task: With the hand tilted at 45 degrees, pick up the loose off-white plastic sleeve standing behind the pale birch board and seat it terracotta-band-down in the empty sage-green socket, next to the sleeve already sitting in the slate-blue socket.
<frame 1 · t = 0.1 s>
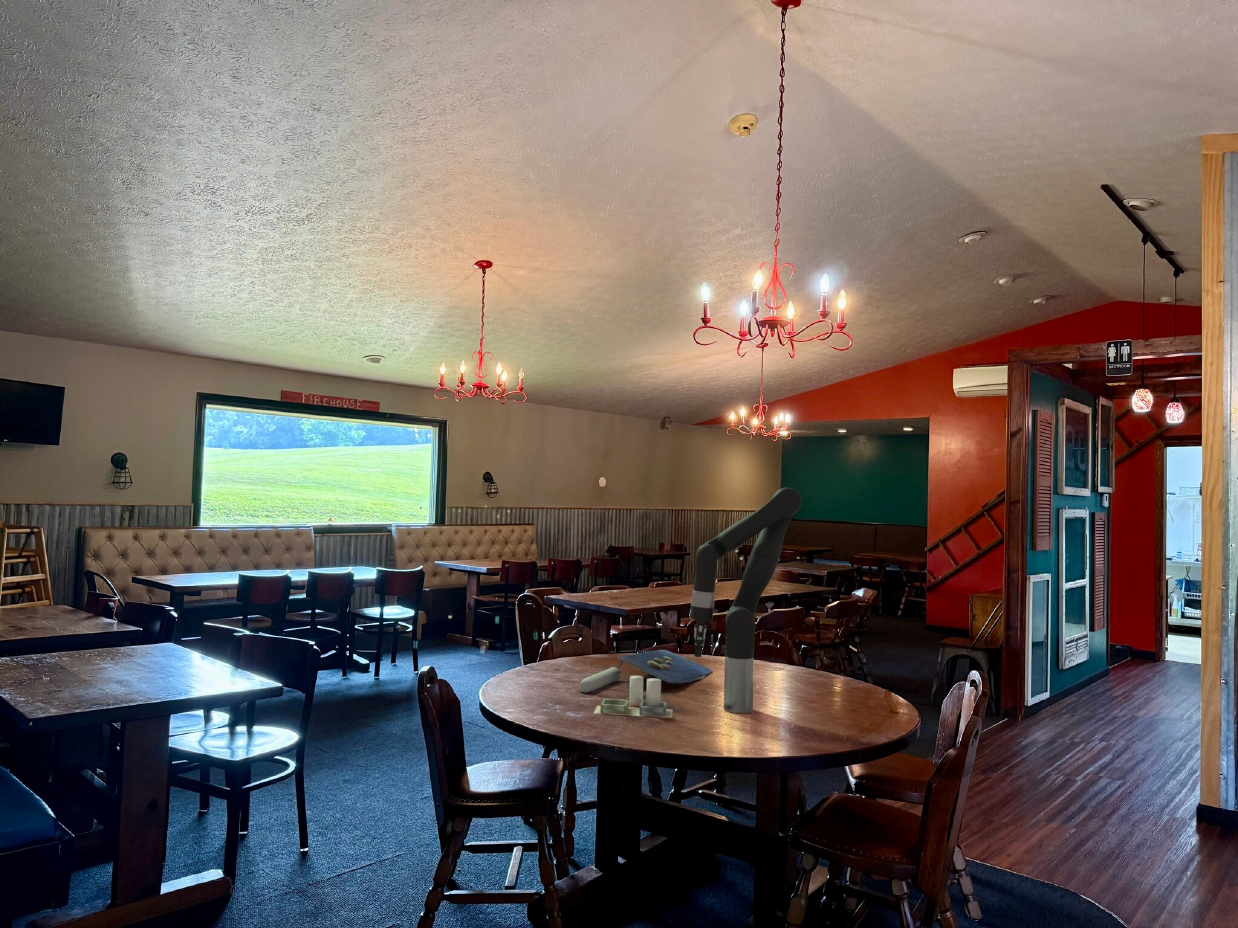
hand: (697, 654, 265), 17 cm above the table, tool pointing down, fingers open, 8 cm apart
seated sleeve: (653, 712, 251), point 1 cm above the table, touching board
board: (633, 716, 251), on the table
tube: (599, 687, 291), on the table, touching serving platter
serving platter: (662, 677, 311), on the table, touching tube
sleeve: (635, 708, 261), on the table
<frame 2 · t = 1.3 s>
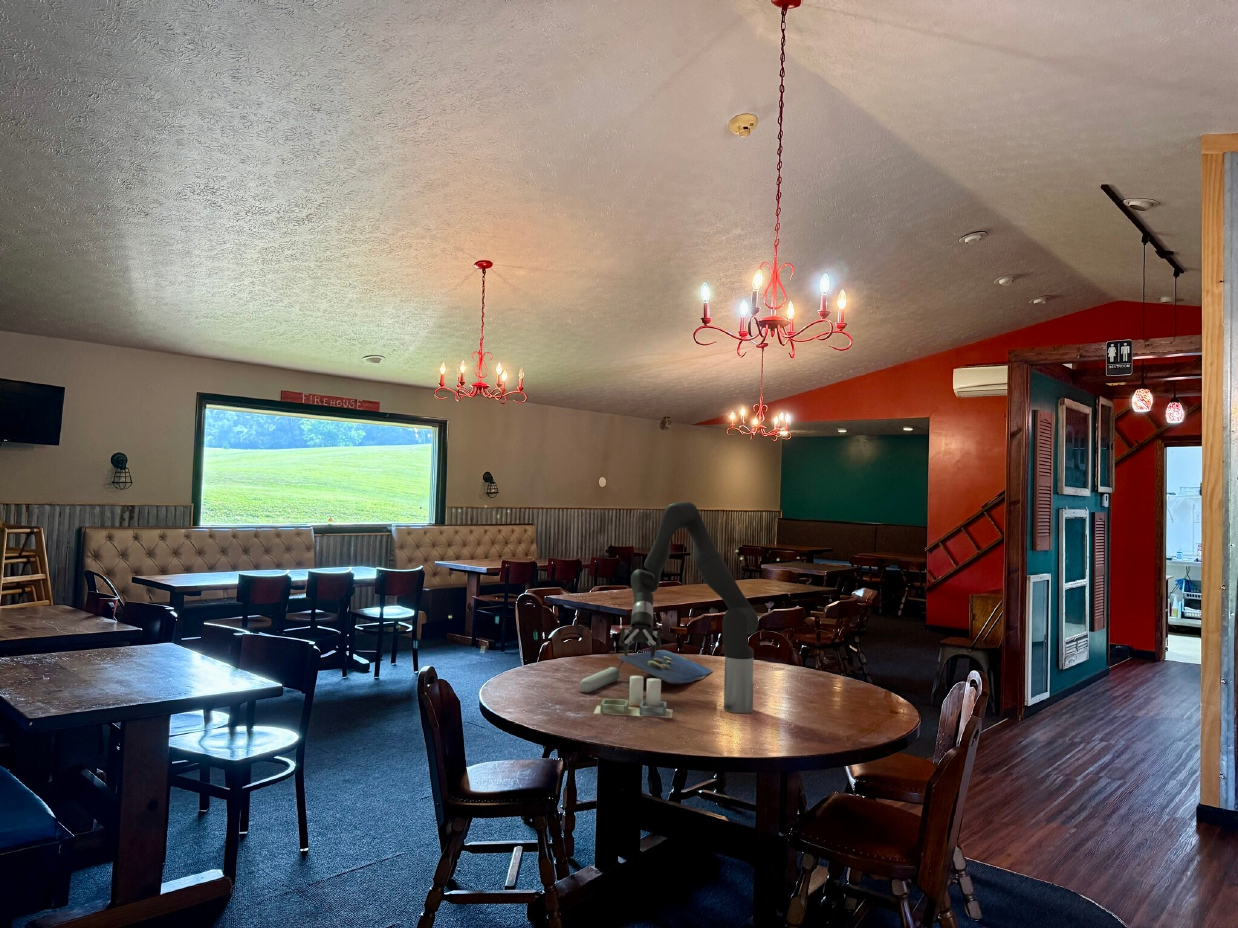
hand: (639, 655, 273), 15 cm above the table, tool tilted 45°, fingers open, 8 cm apart
tube: (598, 687, 291), on the table
serving platter: (662, 677, 311), on the table
everything else where it was.
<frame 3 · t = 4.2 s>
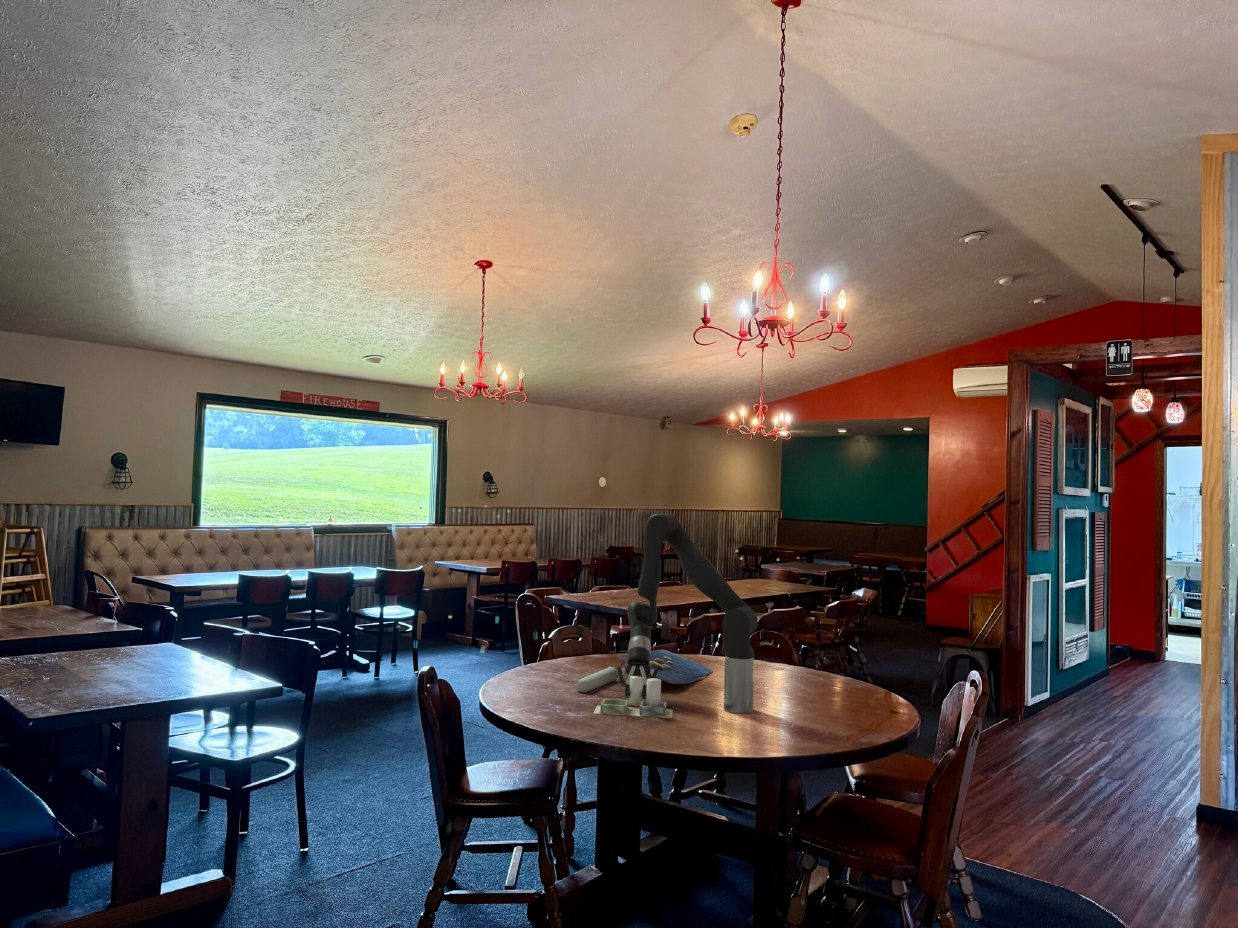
hand: (635, 696, 259), 4 cm above the table, tool tilted 45°, fingers closed on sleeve, 4 cm apart
tube: (597, 687, 291), on the table, touching serving platter
serving platter: (663, 677, 310), on the table, touching tube
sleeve: (635, 708, 261), on the table, touching gripper
everything else where it was.
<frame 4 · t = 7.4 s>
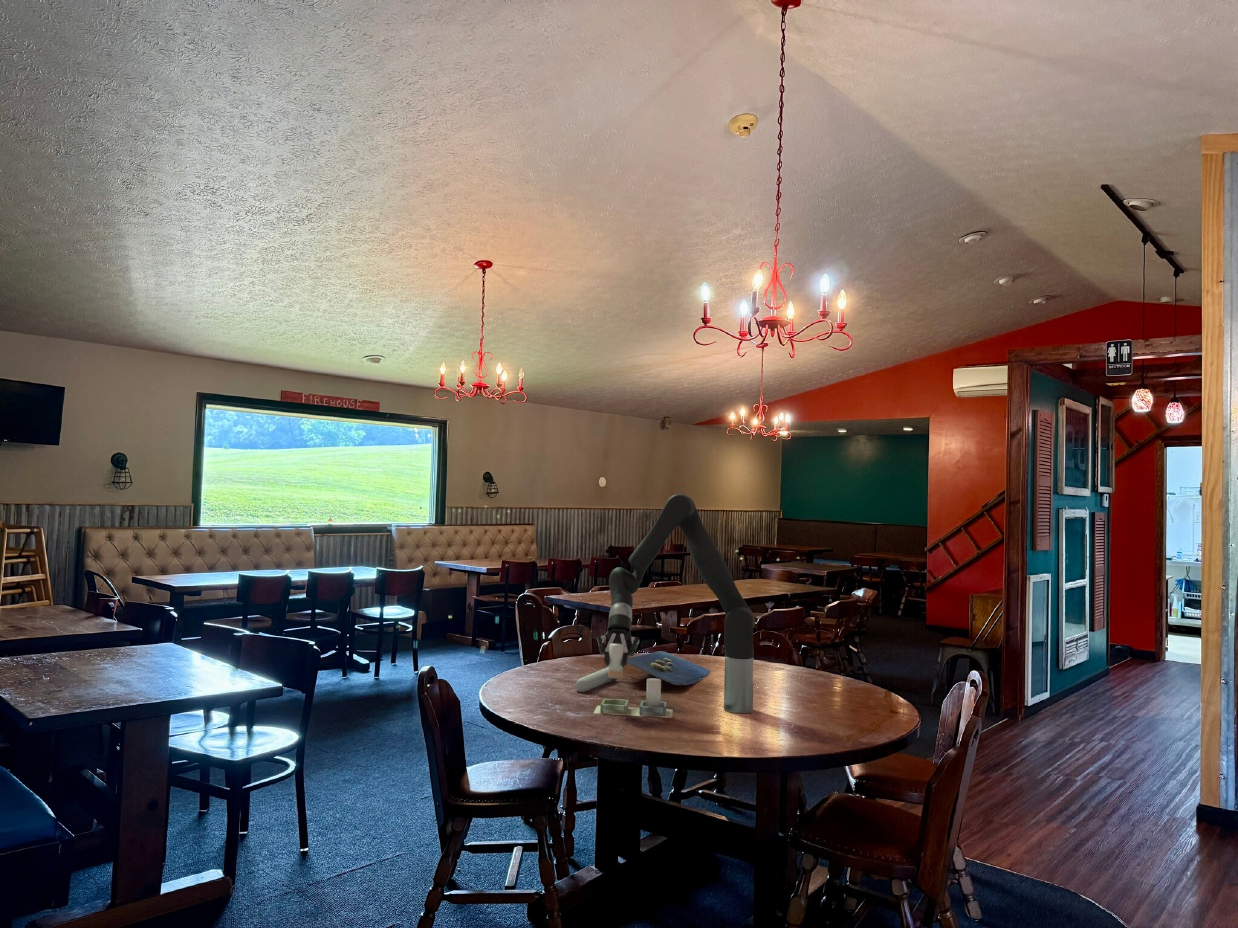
hand: (615, 664, 251), 16 cm above the table, tool tilted 45°, fingers closed on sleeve, 4 cm apart
tube: (595, 687, 292), on the table
serving platter: (664, 678, 310), on the table
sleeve: (615, 676, 252), point 12 cm above the table, touching gripper
everything else where it was.
when the fingers open (7 cm above the table, at t = 9.6 s): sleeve drops 1 cm, resting on board.
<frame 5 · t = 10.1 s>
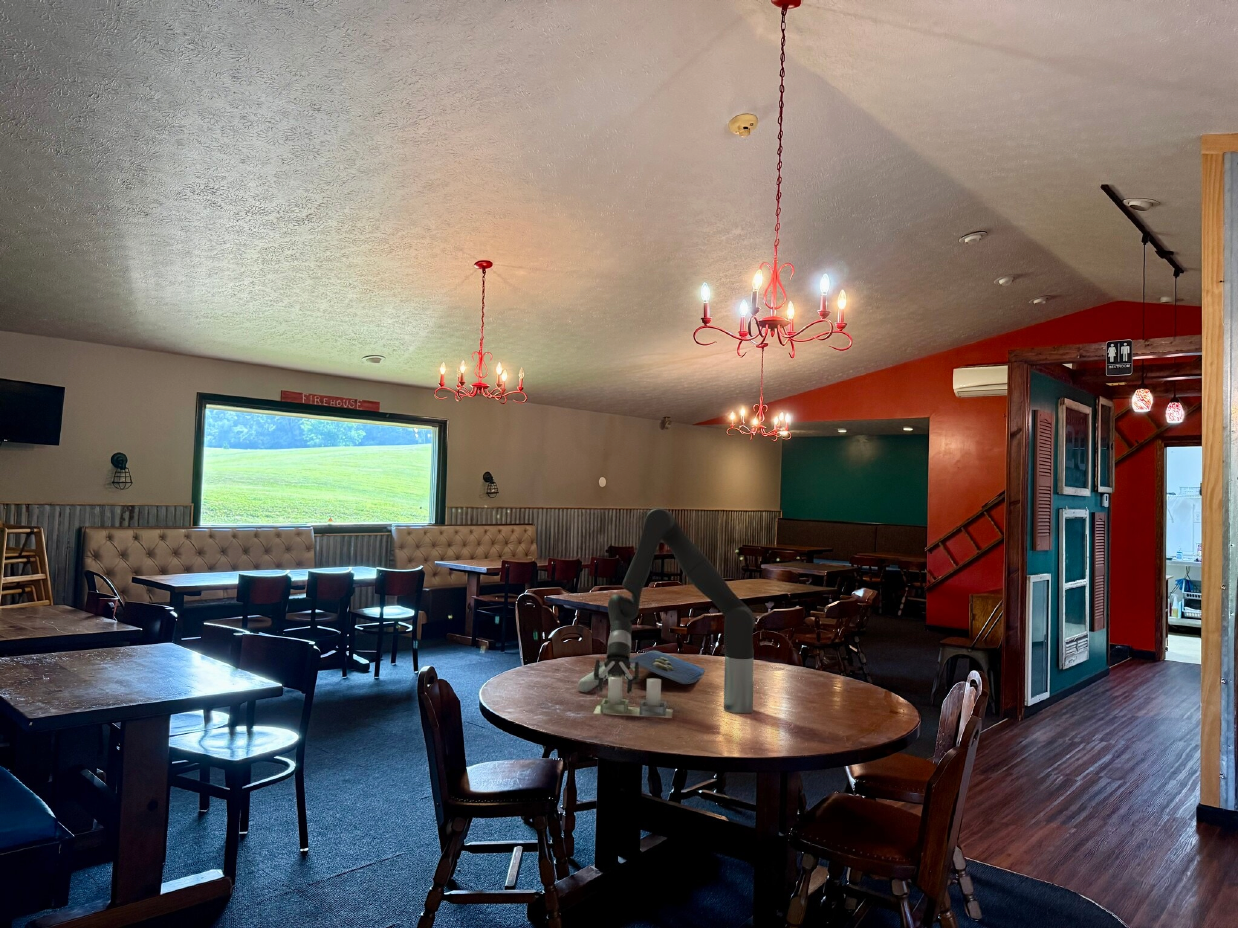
hand: (614, 691, 251), 8 cm above the table, tool tilted 45°, fingers open, 8 cm apart
serving platter: (663, 678, 312), on the table
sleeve: (614, 710, 252), point 2 cm above the table, touching board
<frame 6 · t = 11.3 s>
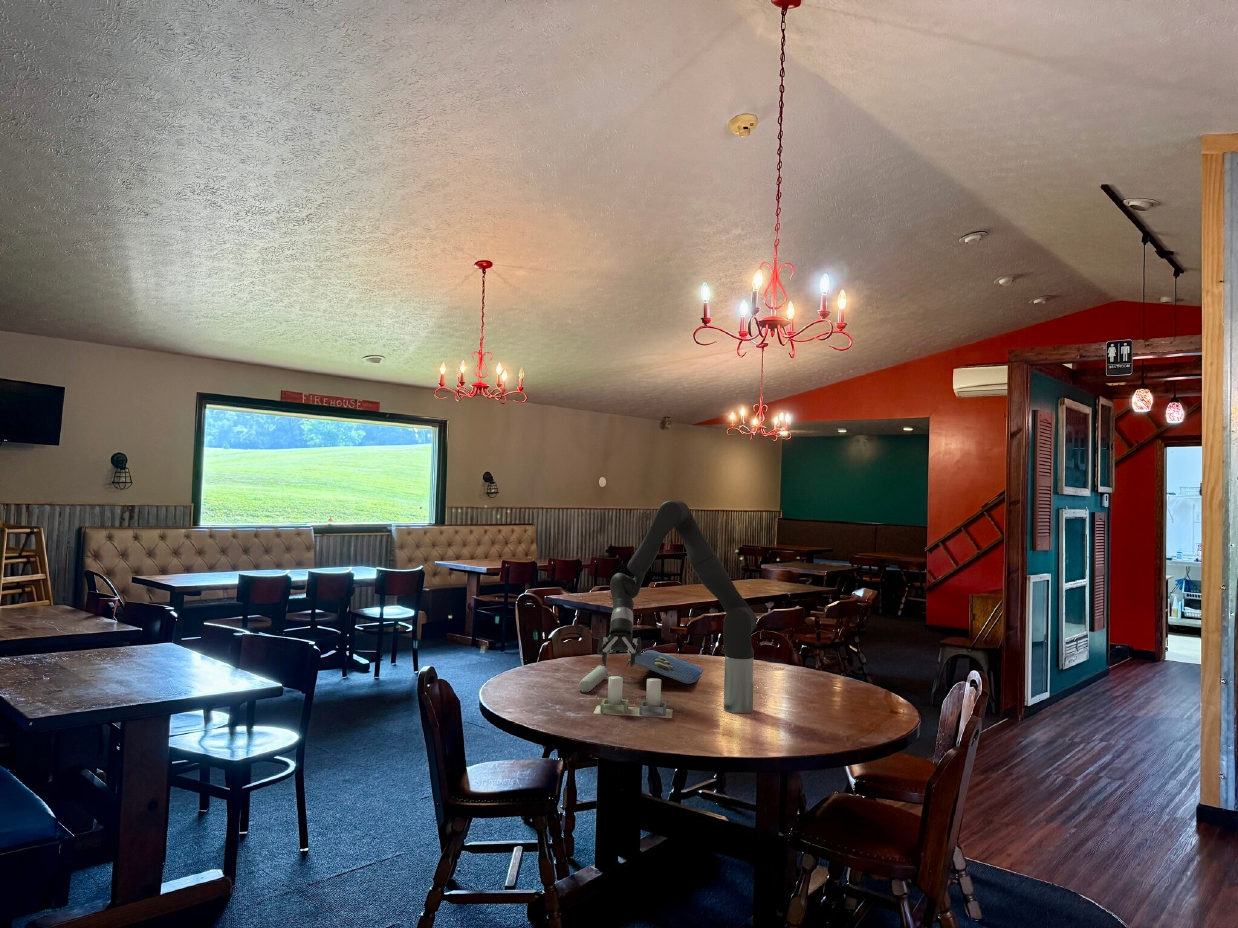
hand: (618, 664, 259), 14 cm above the table, tool tilted 45°, fingers open, 8 cm apart
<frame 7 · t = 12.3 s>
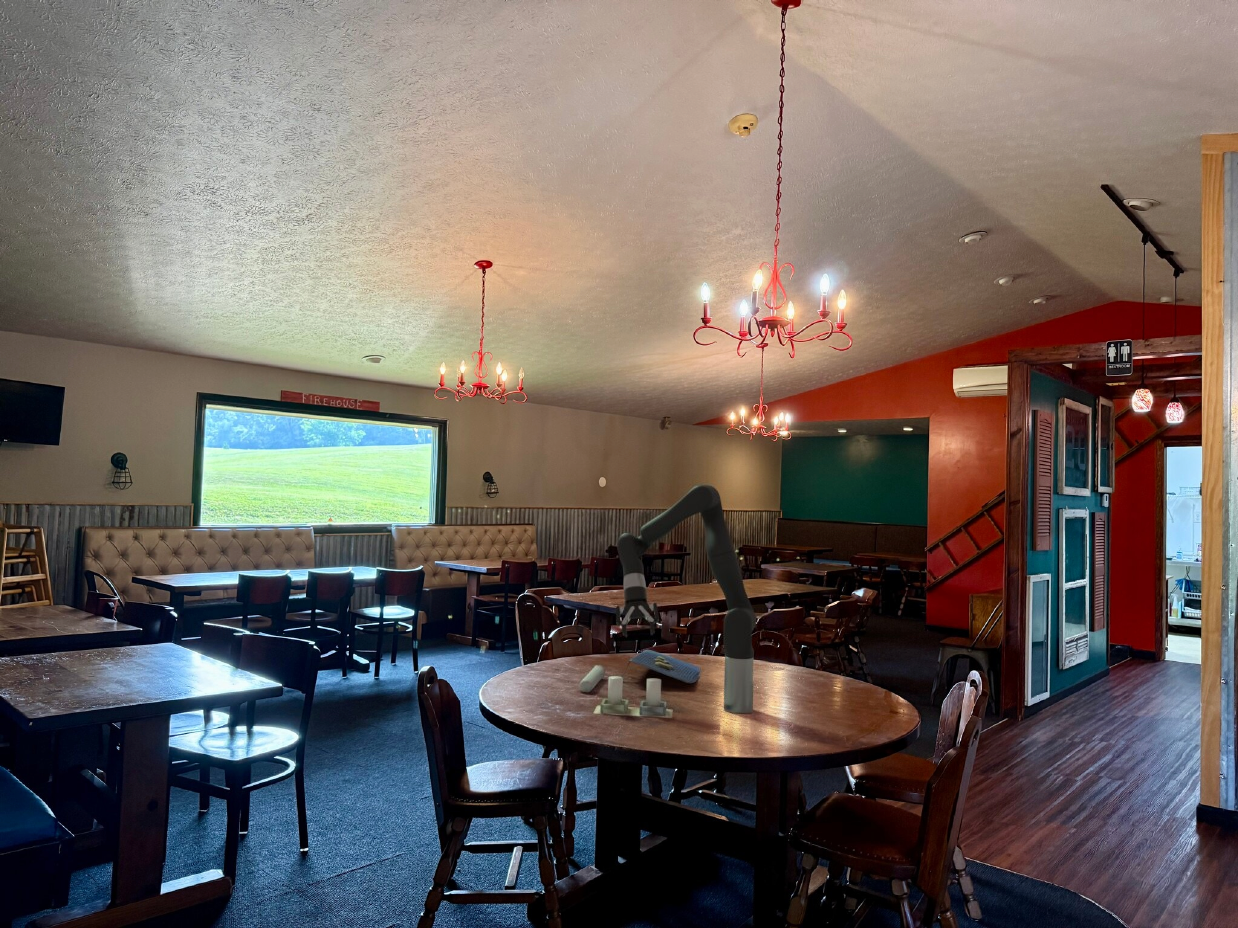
hand: (639, 635, 266), 23 cm above the table, tool tilted 30°, fingers open, 8 cm apart
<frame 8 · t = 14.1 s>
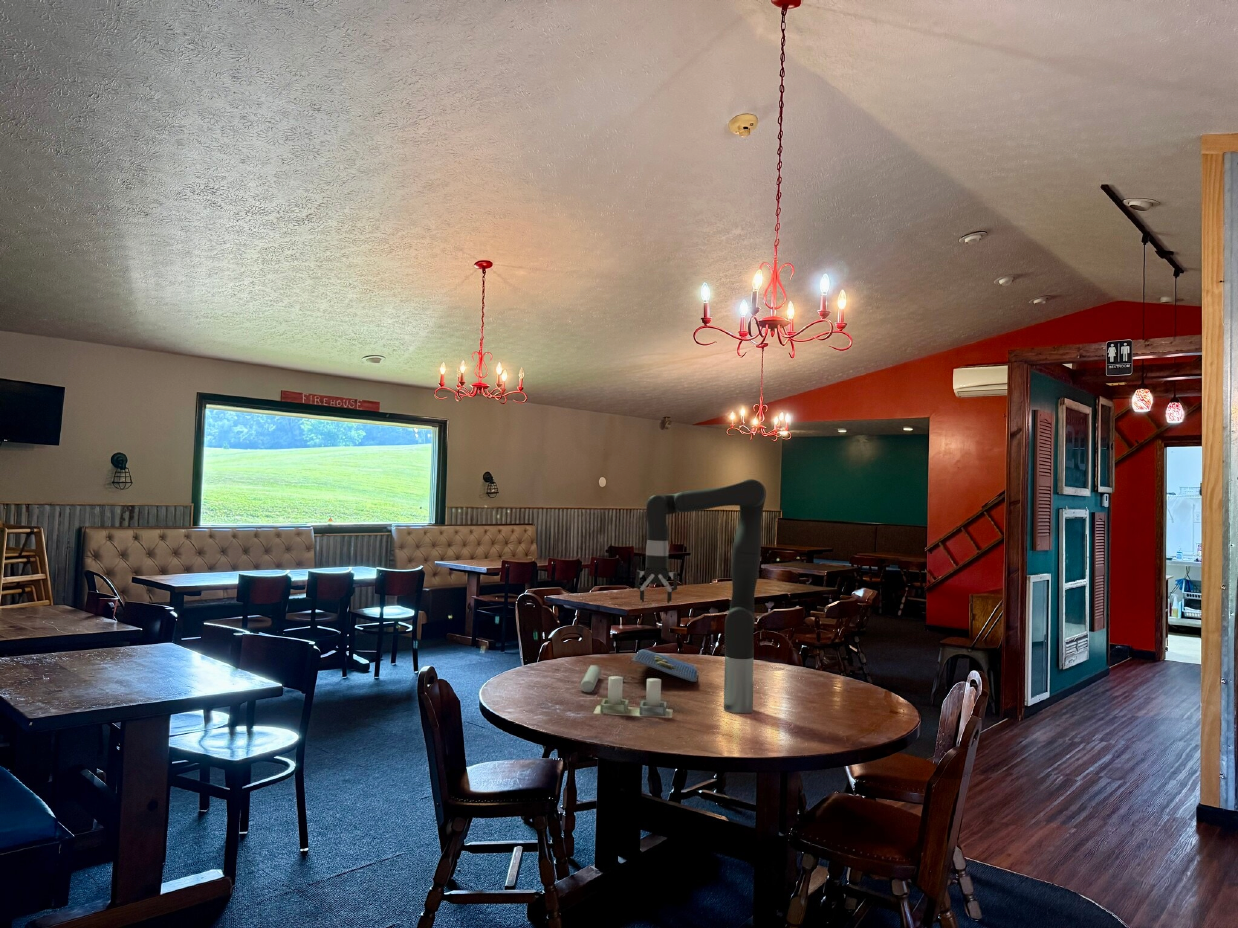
hand: (655, 602, 272), 33 cm above the table, tool pointing down, fingers open, 8 cm apart
serving platter: (662, 676, 314), on the table
at the end: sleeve 0.1 cm from the target spot on the board, point 1.5 cm above the board's base; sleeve tilted 0°; the gripper is holding nothing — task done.
